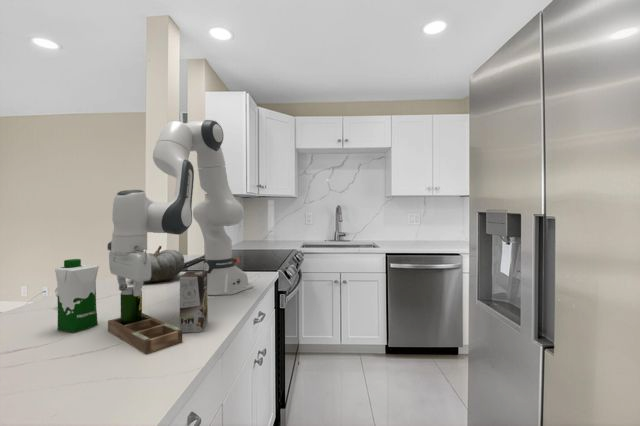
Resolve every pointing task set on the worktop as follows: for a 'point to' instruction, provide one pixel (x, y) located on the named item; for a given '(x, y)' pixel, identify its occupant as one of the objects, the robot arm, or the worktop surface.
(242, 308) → the worktop surface
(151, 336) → the wooden compartment rack
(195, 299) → the coffee box
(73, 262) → the milk carton
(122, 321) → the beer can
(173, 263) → the gourd
